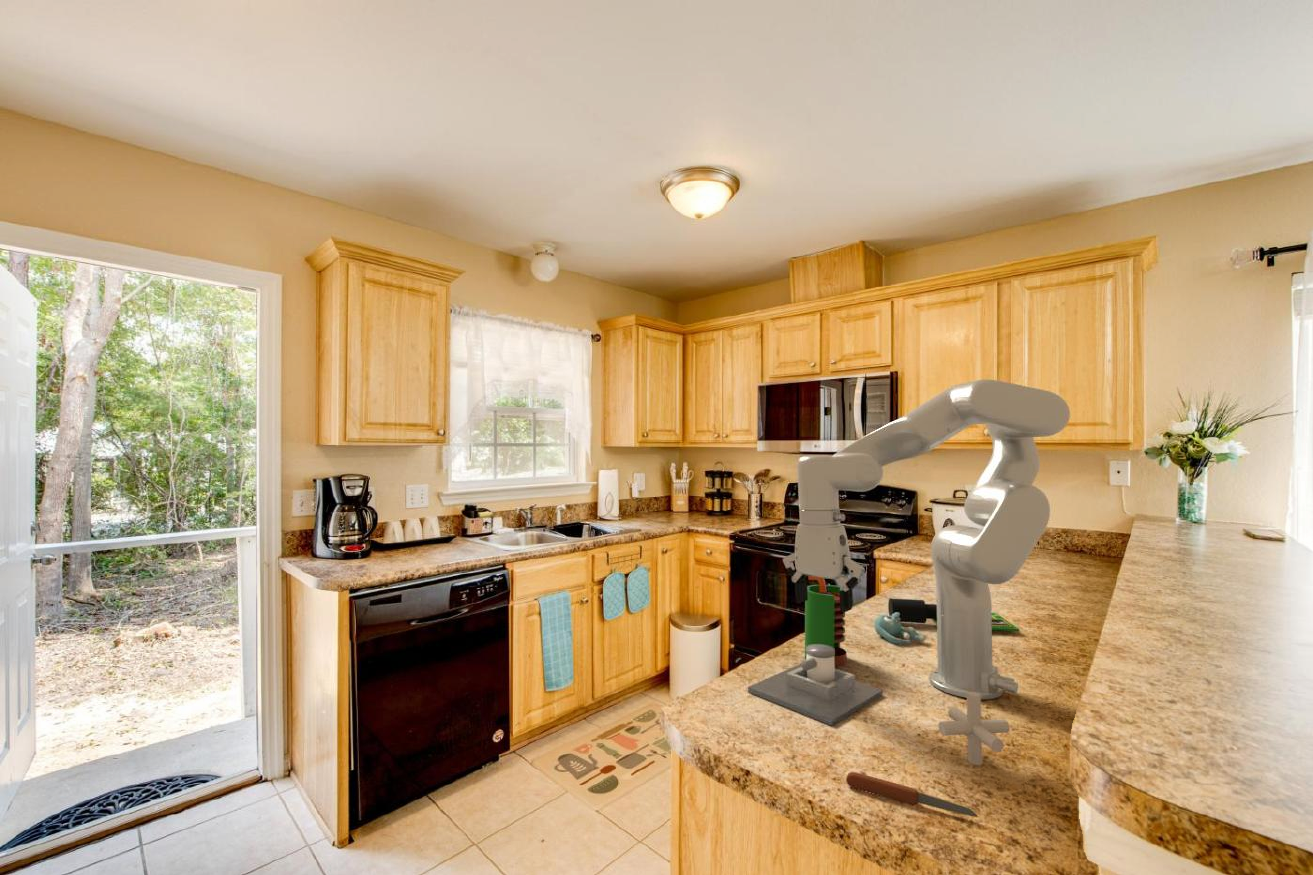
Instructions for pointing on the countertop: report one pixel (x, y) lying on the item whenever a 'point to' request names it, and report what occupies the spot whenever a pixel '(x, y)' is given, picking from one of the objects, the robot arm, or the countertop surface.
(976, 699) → the pipe connector
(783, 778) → the countertop surface
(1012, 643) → the countertop surface
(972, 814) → the kitchen knife
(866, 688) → the mount plate
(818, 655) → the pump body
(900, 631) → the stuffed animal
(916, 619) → the electronic board model
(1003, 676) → the robot arm
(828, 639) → the motor
